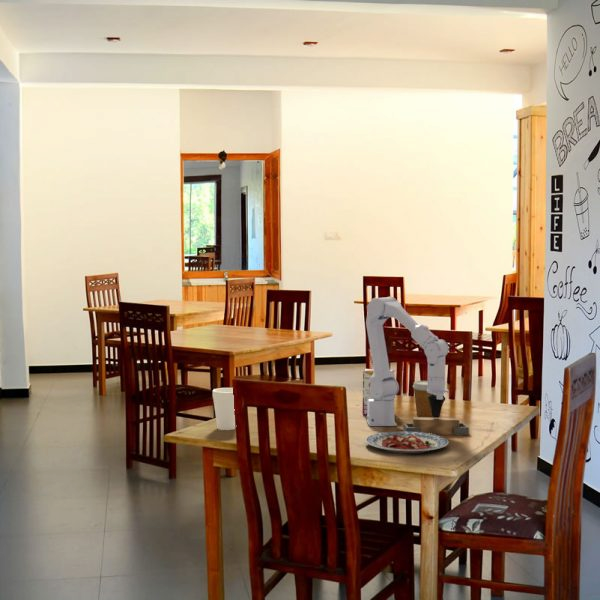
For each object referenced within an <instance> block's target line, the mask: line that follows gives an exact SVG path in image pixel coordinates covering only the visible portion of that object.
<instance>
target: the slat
mask: <svg viewBox="0 0 600 600" xmlns="http://www.w3.org/2000/svg"><path fill="white" fill-rule="evenodd" d="M412 423H413V427H421V432H422V433H430V434H431V433H432V434H434V435H454V427H459V423H460V418H459V417H439V418H433V417H420V416H418V417H417V416H415V417H412Z"/></svg>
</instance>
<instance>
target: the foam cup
mask: <svg viewBox="0 0 600 600" xmlns="http://www.w3.org/2000/svg"><path fill="white" fill-rule="evenodd" d="M233 388H234V387H220V388H219V387H218V388H213V390H212V400H213V405H214V412H215V413H214V414H215V421H216V422H215V423H216V427H217V429H218V430H219V431H231V430H232V431H233V430H236V429H235V415H234V411H235V409H234V395H233Z"/></svg>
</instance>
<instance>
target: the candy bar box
mask: <svg viewBox="0 0 600 600" xmlns="http://www.w3.org/2000/svg"><path fill="white" fill-rule="evenodd" d="M362 371H363V372H362V374H363V375H362V412H361V413H362V415H363V416H367V403H368V399H373V397H372V396H371V394H370V384H371V382H370V378H371V376H372V375H373V373H374V369H373V368H364V369H363V370H362ZM390 371H391V372H393V373H394V374H395V370H394V369H390ZM364 414H365V415H364Z"/></svg>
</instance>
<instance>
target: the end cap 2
mask: <svg viewBox="0 0 600 600" xmlns="http://www.w3.org/2000/svg"><path fill="white" fill-rule="evenodd" d="M469 428H470V427H469V426H468V425H467V424H466V423H465V422H459V427H454V434H453V436H469V435H470V434H469V433H470V431H469V430H470V429H469Z"/></svg>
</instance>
